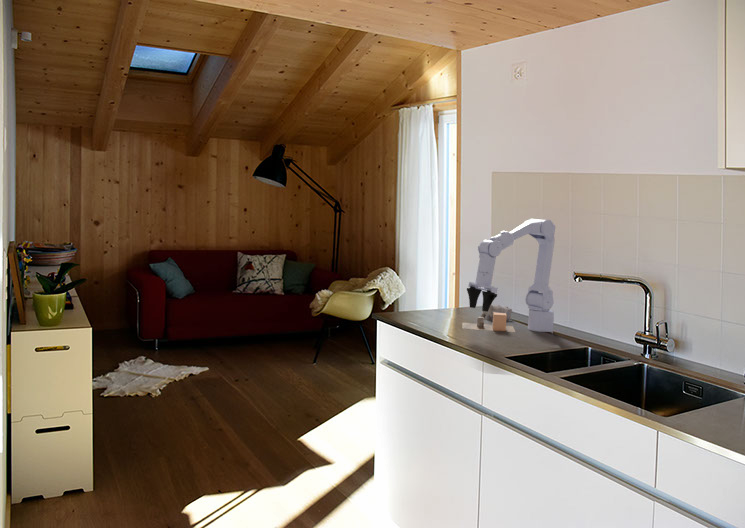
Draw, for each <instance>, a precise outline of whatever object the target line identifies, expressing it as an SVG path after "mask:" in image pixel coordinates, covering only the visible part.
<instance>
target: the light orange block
mask: <svg viewBox="0 0 745 528" xmlns="http://www.w3.org/2000/svg"><path fill="white" fill-rule="evenodd" d="M506 318H507V315H506V313H496V312H493V320H492V324H491V325H492V328H493V330H500V331H499V332H501V331H506V326H507V320H506Z"/></svg>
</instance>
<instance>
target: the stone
mask: <svg viewBox="0 0 745 528" xmlns="http://www.w3.org/2000/svg"><path fill="white" fill-rule="evenodd" d="M493 312H496V313H506V315H507V318H506V321H507V322H508V321H510V319H511V317H512V314H513V309H512V308H509V306H503V305H500V304H491V306H490V308H489V310H488V312H486V311H482V313H481V314H480V317H484V320H490V321H491V320H492V321H493Z"/></svg>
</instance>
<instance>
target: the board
mask: <svg viewBox="0 0 745 528" xmlns="http://www.w3.org/2000/svg"><path fill="white" fill-rule="evenodd" d="M492 325H493V324H489V323H487V324H486V323H485V319H484V317H481V316H478V317H477V322H476V323H471V322H462V326H461V327H462V330H476V331H488V332H489V331H491V332H500V333H501V332H502V333H516V330H515V328H514V325H506V331H500V330H493V328H492Z"/></svg>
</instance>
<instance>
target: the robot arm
mask: <svg viewBox="0 0 745 528" xmlns="http://www.w3.org/2000/svg"><path fill="white" fill-rule="evenodd" d="M555 232H556V224H554V222H553V221H552V220H551V219H540V218H539V219H538V218H532V217H531V218H528V220H525V221H524V222H523V223H522V224H520V225H519V226H517V227H515V228H514V229H513V230H511V231H507V230H506V231H505V230H502V231H500V232H499V234H497V235H495V236H491V237H490V239H488V240H487V239H484V240H482V241H481V242H480V243H479V245H478V246H477V251H478V253H479V254H478V258H479V260H478V266H477V272H476V277H475V282H474V281H473V282H472V281H469V282H468V285H467V286H468V287H467V288H466V291H467V294H468V301H469V308H471V309H476V307H477V304H478V299H479V297H480V295H481V293H482V307H481V308H482V309H481V310H482V312H483V311H486V312H488V310H489V308H490V306H491V305H493V302H494V300H495V299H496V298H497V297H498V287H495V286H492V281H493V276H494V271H495V266H496V260H497V257H498V256H499V255H501V252H502V251H504V250H505V249H507V248H509V247H511V246H512V245H513V244H514V242H515V240H517V239H520V238H522V237H524V236H527V235H529V236H530V237H532V238H534V239H535V240H536V241H537V243H538V244H539V245H538V252H537V258H536V259H537V260H536V265H535V266H536V267H535V273H534V281H533V284H532V285H531V286H529V287H528V291H527V293H526V295H525V299H524V300H525V304H526V305H527V308H528V321H527V330H529V331H532V332H539V333H540V332H541V333H542V332H544V333H545V332H546V333H548V332H549V333H551V334H552V335H554V334H553V333H554V332H553V331H554V318H555V313H554V312H555V311H553V310H551V308H552V307H553V306H554V291H553V289H552V288H551V287H550V286H549V283H550V276H551V269H552V262H553V255H554V247H555V243H556V242H555Z"/></svg>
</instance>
